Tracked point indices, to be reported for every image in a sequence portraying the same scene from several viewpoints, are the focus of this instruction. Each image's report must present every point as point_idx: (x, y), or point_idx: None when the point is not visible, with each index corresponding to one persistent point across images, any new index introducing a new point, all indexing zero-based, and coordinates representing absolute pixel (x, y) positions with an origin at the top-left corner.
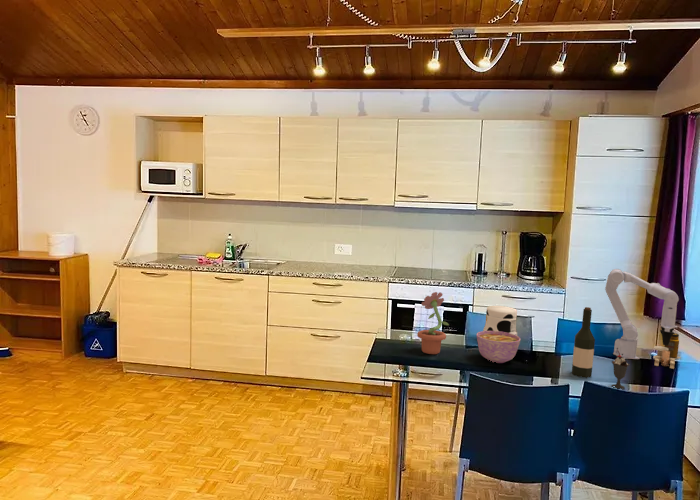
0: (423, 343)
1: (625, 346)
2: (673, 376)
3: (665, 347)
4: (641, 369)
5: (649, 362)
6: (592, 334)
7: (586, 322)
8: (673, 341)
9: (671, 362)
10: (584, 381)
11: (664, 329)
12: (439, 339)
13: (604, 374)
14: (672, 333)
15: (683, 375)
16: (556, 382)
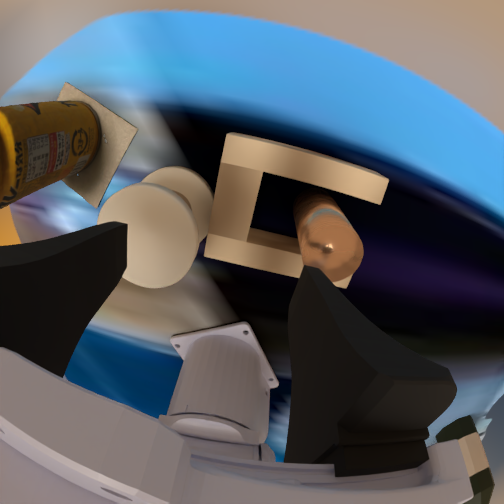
0: None
1: (260, 421)
2: (491, 223)
3: (113, 206)
4: (421, 333)
5: (285, 283)
6: (490, 497)
7: None
8: (20, 150)
9: (367, 193)
10: (486, 414)
11: (46, 368)
12: None
13: (459, 403)
14: (451, 388)
15: (473, 164)
16: (480, 433)
